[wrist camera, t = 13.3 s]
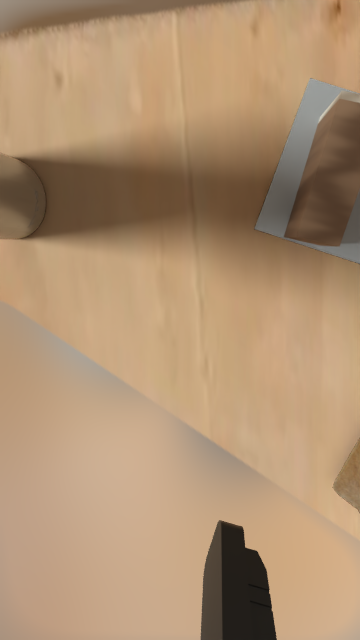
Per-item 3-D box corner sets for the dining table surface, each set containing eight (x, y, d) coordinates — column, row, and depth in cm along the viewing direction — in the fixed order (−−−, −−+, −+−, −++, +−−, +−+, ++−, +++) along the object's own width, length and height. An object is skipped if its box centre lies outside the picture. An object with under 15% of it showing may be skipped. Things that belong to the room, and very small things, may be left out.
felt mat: (254, 229, 36) (254, 229, 36) (308, 81, 32) (310, 78, 32) (365, 265, 36) (368, 266, 35) (434, 120, 32) (438, 118, 32)
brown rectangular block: (296, 236, 30) (341, 90, 27) (283, 237, 36) (319, 117, 33) (339, 246, 30) (390, 100, 27) (319, 245, 35) (359, 125, 32)
